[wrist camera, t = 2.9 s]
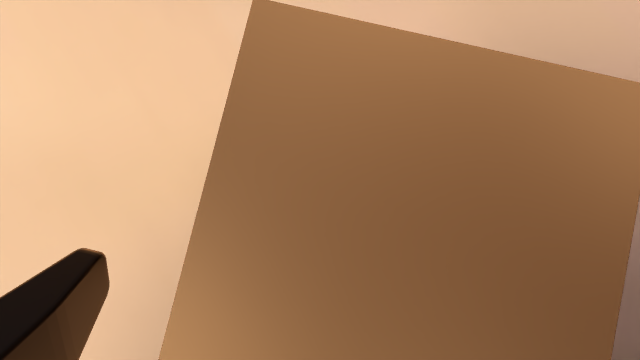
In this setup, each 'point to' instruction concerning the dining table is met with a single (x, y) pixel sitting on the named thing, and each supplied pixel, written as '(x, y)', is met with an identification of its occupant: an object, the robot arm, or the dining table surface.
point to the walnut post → (407, 202)
